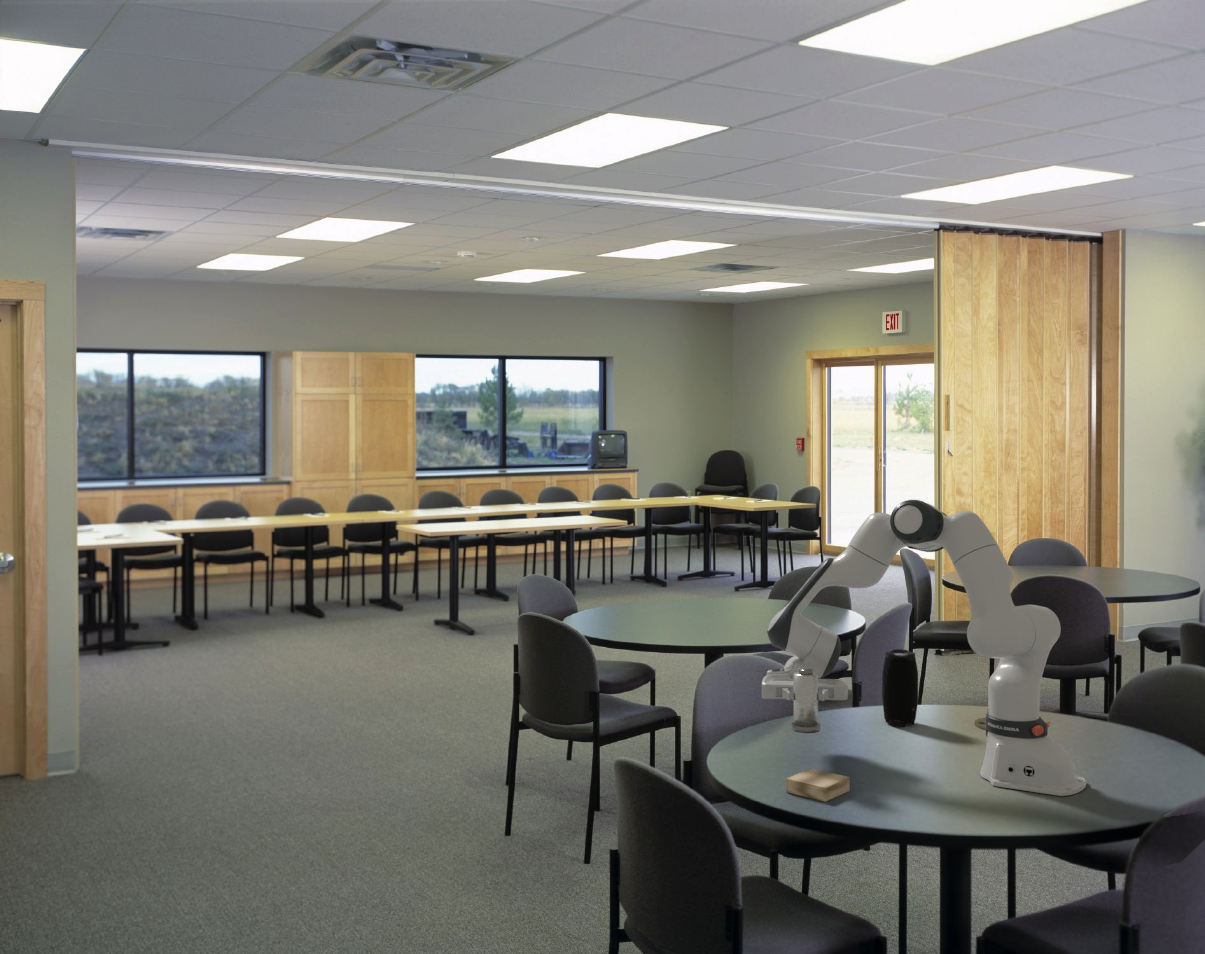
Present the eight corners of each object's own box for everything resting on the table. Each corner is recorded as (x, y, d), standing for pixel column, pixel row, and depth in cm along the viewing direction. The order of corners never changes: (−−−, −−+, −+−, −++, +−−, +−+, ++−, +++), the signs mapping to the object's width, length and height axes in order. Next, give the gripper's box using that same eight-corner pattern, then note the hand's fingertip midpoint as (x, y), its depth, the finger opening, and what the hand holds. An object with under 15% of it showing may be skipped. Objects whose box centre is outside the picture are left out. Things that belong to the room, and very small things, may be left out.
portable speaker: (923, 726, 307) (924, 653, 306) (891, 728, 305) (892, 655, 304) (907, 718, 315) (907, 647, 314) (876, 720, 313) (876, 649, 312)
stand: (849, 790, 253) (849, 777, 253) (825, 801, 246) (825, 787, 246) (810, 781, 260) (810, 768, 260) (786, 791, 253) (786, 778, 253)
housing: (825, 728, 267) (825, 668, 267) (811, 734, 262) (812, 673, 261) (799, 724, 271) (799, 665, 271) (786, 730, 266) (786, 670, 265)
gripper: (846, 697, 278) (851, 711, 264) (760, 695, 280) (762, 709, 267) (846, 671, 278) (851, 684, 264) (760, 670, 280) (762, 682, 266)
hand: (806, 697), depth 265 cm, fingers closed on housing, 6 cm apart
